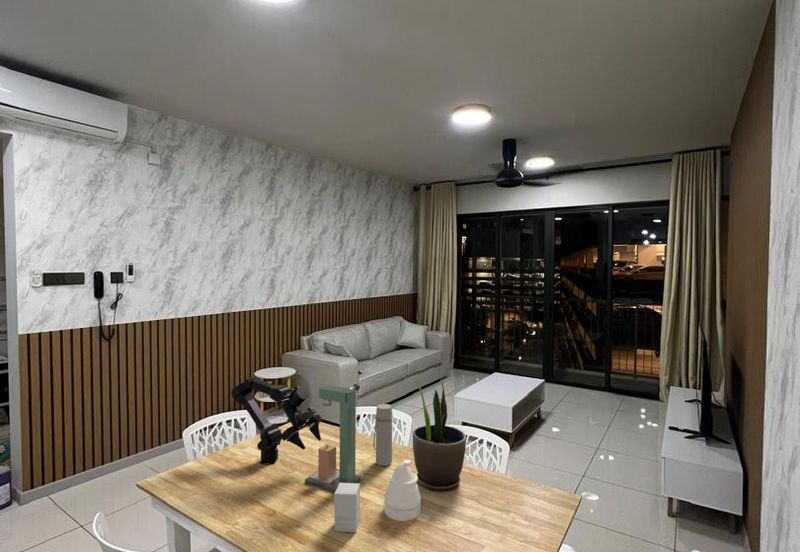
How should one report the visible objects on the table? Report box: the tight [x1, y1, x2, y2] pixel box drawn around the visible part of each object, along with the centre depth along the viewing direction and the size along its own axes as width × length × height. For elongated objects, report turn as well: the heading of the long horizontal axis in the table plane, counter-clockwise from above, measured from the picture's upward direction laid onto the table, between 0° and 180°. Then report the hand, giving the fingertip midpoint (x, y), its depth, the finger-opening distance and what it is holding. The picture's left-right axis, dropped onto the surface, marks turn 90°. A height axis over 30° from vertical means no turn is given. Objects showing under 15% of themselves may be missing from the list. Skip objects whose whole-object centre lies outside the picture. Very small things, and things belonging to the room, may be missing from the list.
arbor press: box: [304, 383, 362, 493], centre depth 172 cm, size 18×20×38 cm
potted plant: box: [412, 380, 467, 493], centre depth 170 cm, size 21×22×40 cm
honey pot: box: [383, 459, 422, 522], centre depth 150 cm, size 13×13×18 cm
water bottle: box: [373, 403, 394, 467], centre depth 186 cm, size 9×8×25 cm
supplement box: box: [333, 483, 361, 533], centre depth 140 cm, size 7×7×13 cm
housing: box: [317, 442, 337, 479], centre depth 171 cm, size 5×5×12 cm
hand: (312, 444), depth 175 cm, fingers open, 9 cm apart
